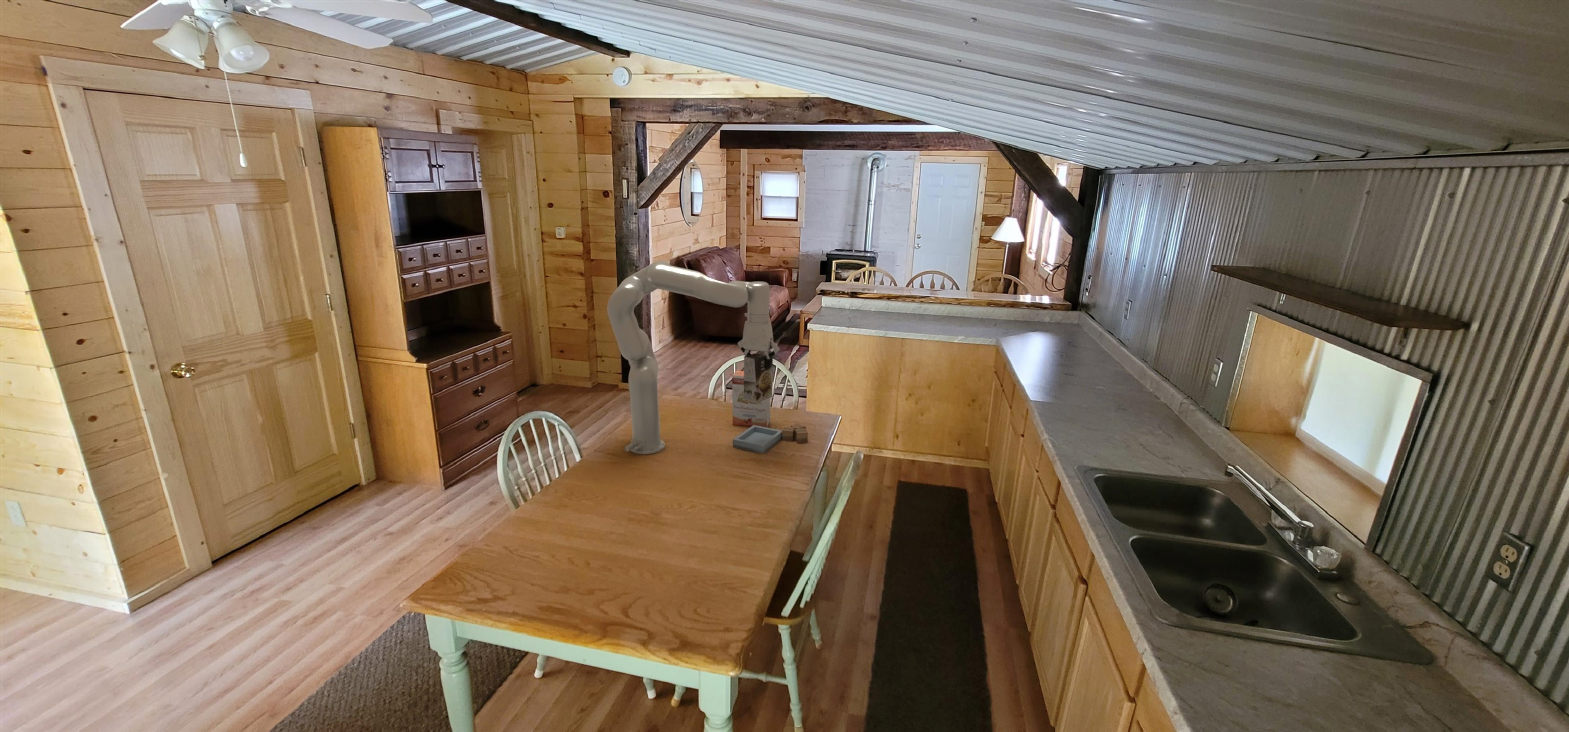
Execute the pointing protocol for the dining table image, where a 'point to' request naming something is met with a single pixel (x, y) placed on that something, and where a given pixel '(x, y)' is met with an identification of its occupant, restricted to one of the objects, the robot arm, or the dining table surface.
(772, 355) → the robot arm
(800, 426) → the walnut block
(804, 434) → the walnut block
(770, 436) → the tray
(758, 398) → the coffee box
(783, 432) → the walnut block
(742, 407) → the cracker box
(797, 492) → the dining table surface
